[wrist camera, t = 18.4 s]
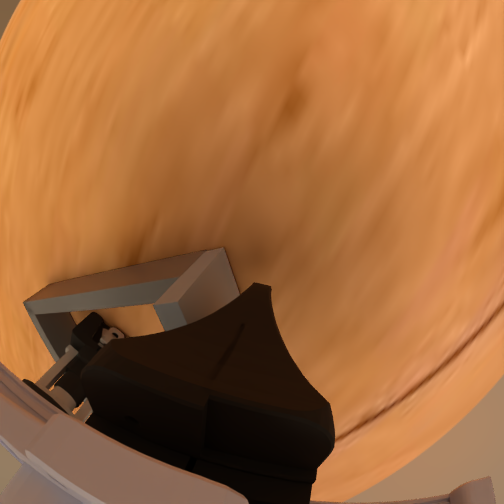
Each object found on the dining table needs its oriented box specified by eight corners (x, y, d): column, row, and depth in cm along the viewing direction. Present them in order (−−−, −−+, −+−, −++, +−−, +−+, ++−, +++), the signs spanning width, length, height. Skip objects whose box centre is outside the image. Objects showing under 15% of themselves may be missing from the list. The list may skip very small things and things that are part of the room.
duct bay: (263, 404, 17) (254, 440, 14) (111, 393, 21) (94, 415, 18) (206, 249, 14) (180, 276, 11) (49, 284, 18) (22, 302, 15)
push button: (174, 355, 17) (94, 482, 8) (150, 390, 19) (87, 489, 10) (93, 293, 17) (-13, 386, 7) (83, 338, 19) (3, 419, 10)
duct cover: (285, 410, 16) (273, 474, 12) (267, 411, 17) (252, 473, 12) (227, 246, 13) (182, 300, 9) (204, 251, 14) (152, 305, 9)
